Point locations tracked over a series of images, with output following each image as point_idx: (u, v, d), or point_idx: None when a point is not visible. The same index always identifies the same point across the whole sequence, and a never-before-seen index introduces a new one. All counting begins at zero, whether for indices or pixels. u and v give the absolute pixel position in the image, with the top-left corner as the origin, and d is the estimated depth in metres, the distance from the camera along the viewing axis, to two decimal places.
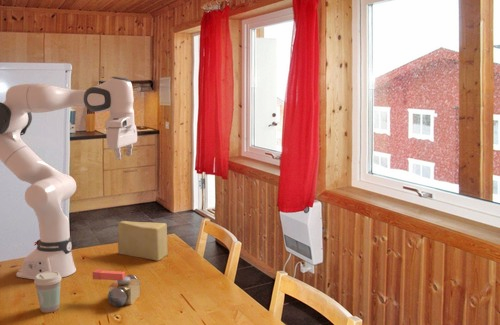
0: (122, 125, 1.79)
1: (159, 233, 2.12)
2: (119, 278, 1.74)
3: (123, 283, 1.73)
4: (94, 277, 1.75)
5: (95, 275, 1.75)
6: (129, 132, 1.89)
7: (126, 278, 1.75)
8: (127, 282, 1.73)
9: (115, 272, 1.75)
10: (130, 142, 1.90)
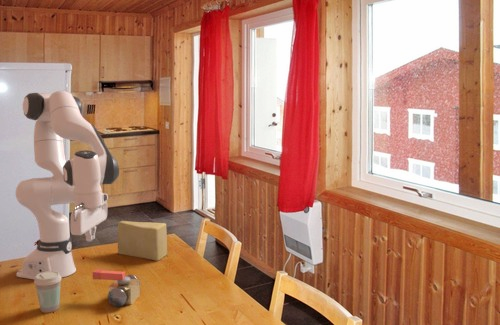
0: None
1: (158, 233, 2.12)
2: (119, 278, 1.74)
3: (123, 283, 1.73)
4: (94, 277, 1.75)
5: (95, 275, 1.75)
6: None
7: (126, 278, 1.75)
8: (127, 282, 1.73)
9: (115, 272, 1.75)
10: None
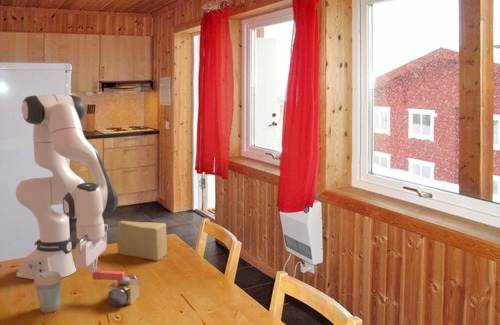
0: None
1: (158, 233, 2.12)
2: (119, 278, 1.74)
3: (123, 283, 1.73)
4: (94, 277, 1.75)
5: (95, 275, 1.75)
6: None
7: (126, 278, 1.75)
8: (127, 282, 1.73)
9: (115, 272, 1.75)
10: None
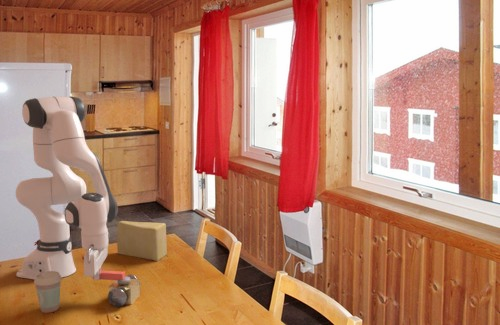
0: None
1: (158, 233, 2.12)
2: (119, 278, 1.74)
3: (123, 283, 1.73)
4: None
5: None
6: None
7: (126, 278, 1.75)
8: (127, 282, 1.73)
9: (115, 272, 1.75)
10: None
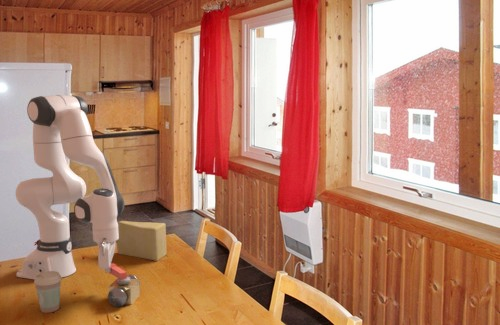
0: None
1: (158, 233, 2.12)
2: (119, 277, 1.75)
3: (119, 283, 1.73)
4: None
5: None
6: None
7: (126, 279, 1.75)
8: (123, 283, 1.73)
9: (119, 270, 1.77)
10: None
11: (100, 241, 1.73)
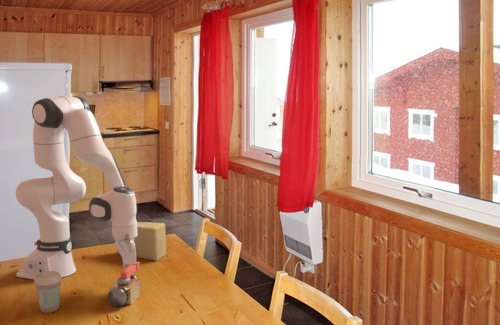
0: None
1: (157, 233, 2.12)
2: None
3: None
4: None
5: None
6: (122, 246, 1.79)
7: (124, 279, 1.74)
8: (118, 282, 1.73)
9: (127, 269, 1.77)
10: (122, 256, 1.79)
11: (123, 238, 1.77)
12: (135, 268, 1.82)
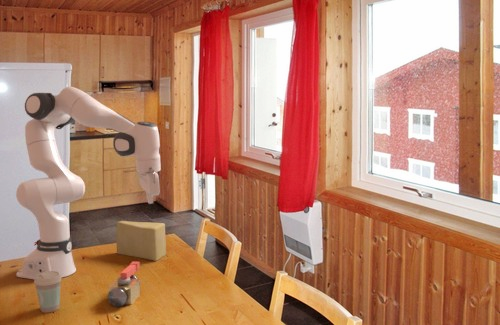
0: None
1: (157, 233, 2.13)
2: None
3: None
4: None
5: None
6: (146, 179, 1.81)
7: (124, 279, 1.74)
8: (118, 282, 1.73)
9: (127, 269, 1.77)
10: (145, 190, 1.82)
11: (146, 171, 1.79)
12: (135, 268, 1.82)
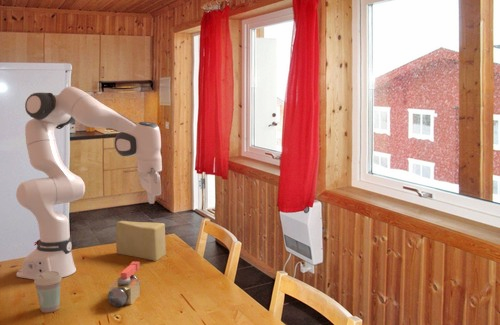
0: (137, 166, 1.90)
1: (157, 233, 2.12)
2: None
3: None
4: None
5: None
6: (147, 179, 1.82)
7: (124, 279, 1.74)
8: (118, 282, 1.73)
9: (127, 269, 1.77)
10: (147, 190, 1.82)
11: (148, 171, 1.80)
12: (135, 268, 1.82)
